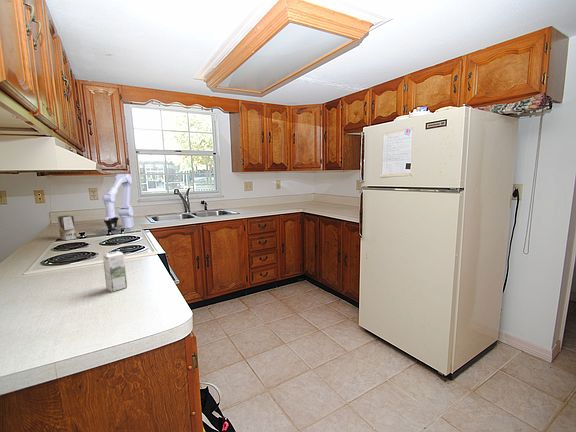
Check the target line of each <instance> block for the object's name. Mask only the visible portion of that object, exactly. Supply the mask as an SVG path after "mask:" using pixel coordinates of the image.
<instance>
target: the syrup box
mask: <svg viewBox="0 0 576 432" xmlns="http://www.w3.org/2000/svg"><path fill="white" fill-rule="evenodd" d="M102 260H103V268H104V269H103V270H104V276H105V277H104V278H105V287H106V289H107V290H108V291H110V292H111V293H113V292H117V291H120V290H124V289H127V288H128V281H127V280H128V279H127V271H126V264H125V263H126V261H125V254H124V253H123V252H121V251H118V250H117V251H112V252H107V253H104V254H102Z"/></svg>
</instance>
